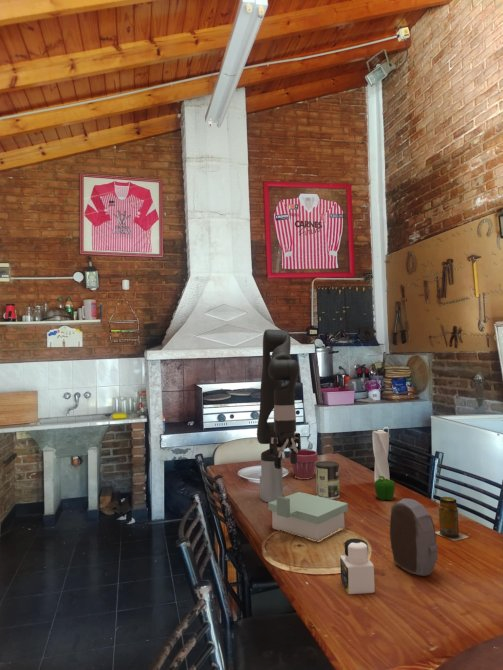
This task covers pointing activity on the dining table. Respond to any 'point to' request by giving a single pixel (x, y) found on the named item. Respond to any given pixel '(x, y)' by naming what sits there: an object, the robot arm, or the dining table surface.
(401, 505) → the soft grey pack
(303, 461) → the plant pot
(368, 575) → the medicine bottle
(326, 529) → the parts tub
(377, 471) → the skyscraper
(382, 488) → the bell pepper
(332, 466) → the coffee can
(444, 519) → the condiment
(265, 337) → the robot arm
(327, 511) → the lid
